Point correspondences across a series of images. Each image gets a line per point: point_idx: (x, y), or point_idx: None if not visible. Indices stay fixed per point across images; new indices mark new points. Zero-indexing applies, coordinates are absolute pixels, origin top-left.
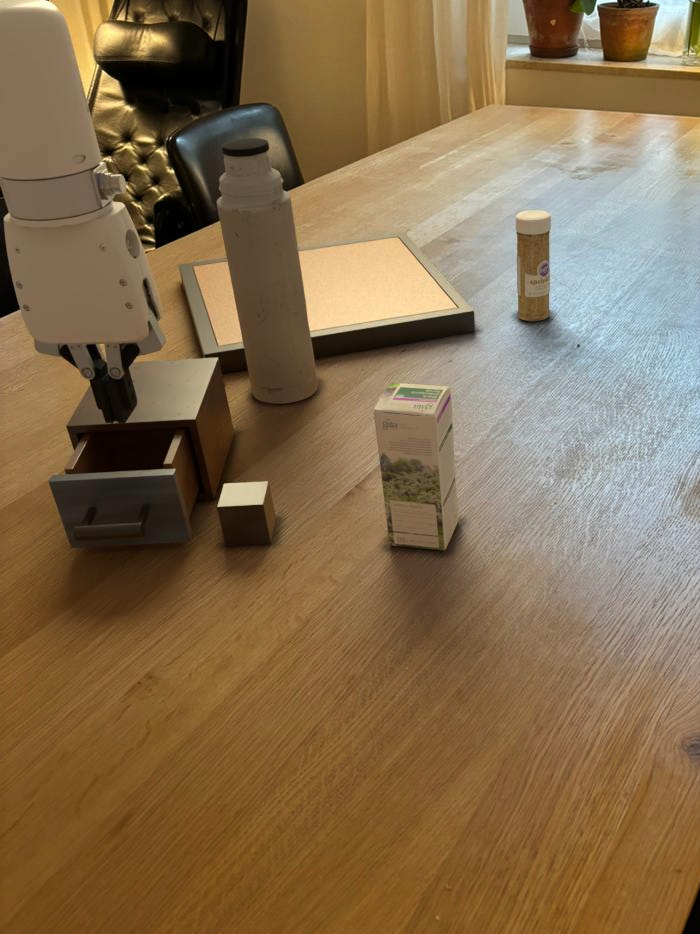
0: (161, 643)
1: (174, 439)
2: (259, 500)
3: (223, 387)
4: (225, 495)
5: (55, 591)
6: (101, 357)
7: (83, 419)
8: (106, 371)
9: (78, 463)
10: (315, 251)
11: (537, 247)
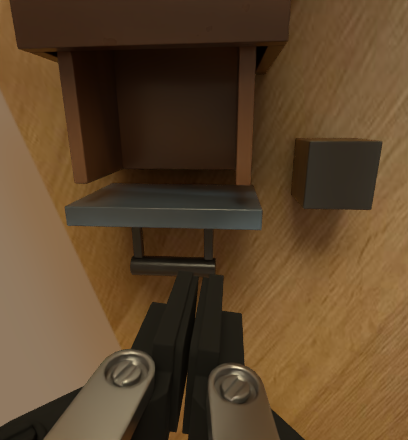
0: (243, 340)
1: (242, 91)
2: (366, 198)
3: None
4: (314, 178)
5: (120, 255)
6: (146, 406)
7: (40, 17)
8: (170, 388)
9: (87, 152)
10: None
11: None
